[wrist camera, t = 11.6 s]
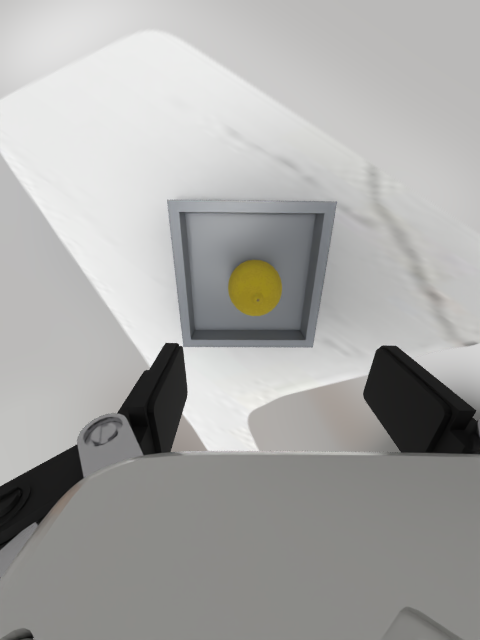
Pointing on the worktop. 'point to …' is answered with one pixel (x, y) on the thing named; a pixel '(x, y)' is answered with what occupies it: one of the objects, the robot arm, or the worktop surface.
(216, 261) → the tray
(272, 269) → the lemon
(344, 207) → the worktop surface
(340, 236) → the worktop surface
